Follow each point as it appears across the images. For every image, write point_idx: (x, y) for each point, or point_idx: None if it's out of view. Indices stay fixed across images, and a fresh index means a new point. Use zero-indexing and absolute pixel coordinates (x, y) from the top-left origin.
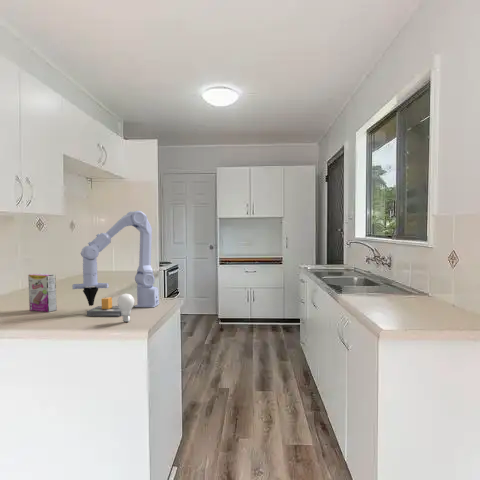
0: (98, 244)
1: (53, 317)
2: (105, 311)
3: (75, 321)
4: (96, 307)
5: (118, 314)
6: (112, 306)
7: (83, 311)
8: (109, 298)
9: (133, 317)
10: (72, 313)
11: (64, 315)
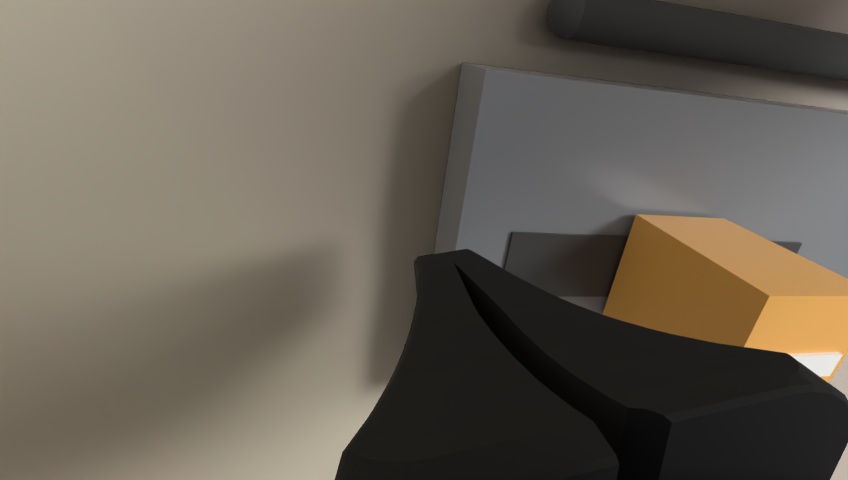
0: None
1: (20, 456)
2: None
3: None
4: (489, 188)
5: None
6: (722, 117)
7: (223, 103)
8: (827, 379)
9: (839, 379)
10: (122, 246)
11: (91, 360)
